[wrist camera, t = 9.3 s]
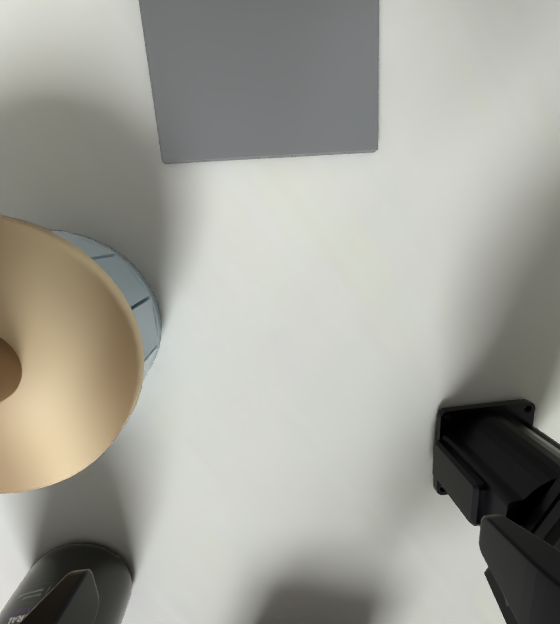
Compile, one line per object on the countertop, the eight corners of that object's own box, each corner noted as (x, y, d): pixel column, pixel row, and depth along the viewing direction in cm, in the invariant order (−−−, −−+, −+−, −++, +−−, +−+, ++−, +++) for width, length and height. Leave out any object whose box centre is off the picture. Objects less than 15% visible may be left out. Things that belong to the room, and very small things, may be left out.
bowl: (145, 225, 17) (103, 222, 12) (173, 395, 20) (147, 448, 15) (-54, 239, 16) (-182, 241, 12) (0, 413, 19) (-87, 474, 14)
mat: (374, -111, 15) (379, -125, 14) (373, 152, 17) (378, 149, 17) (126, -111, 14) (120, -126, 13) (165, 163, 17) (162, 161, 16)
